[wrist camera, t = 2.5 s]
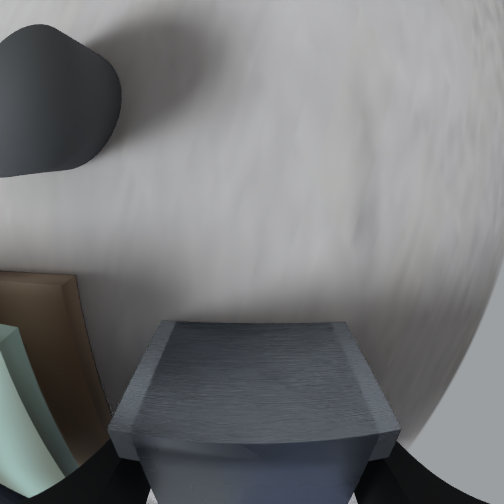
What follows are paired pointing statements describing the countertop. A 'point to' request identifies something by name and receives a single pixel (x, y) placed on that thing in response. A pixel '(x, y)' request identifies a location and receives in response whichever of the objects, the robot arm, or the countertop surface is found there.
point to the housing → (253, 414)
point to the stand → (46, 383)
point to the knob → (53, 102)
